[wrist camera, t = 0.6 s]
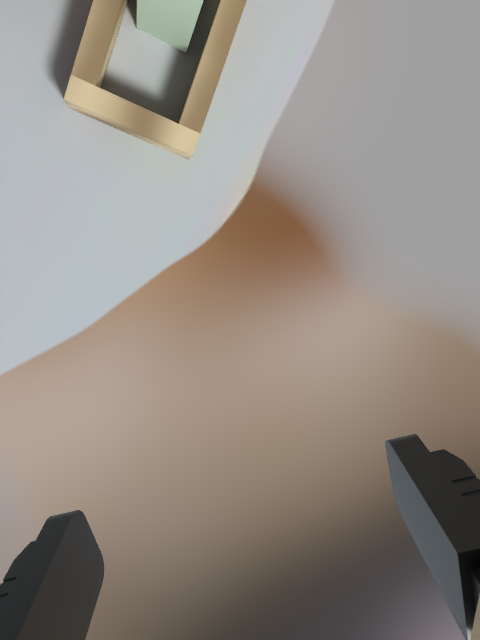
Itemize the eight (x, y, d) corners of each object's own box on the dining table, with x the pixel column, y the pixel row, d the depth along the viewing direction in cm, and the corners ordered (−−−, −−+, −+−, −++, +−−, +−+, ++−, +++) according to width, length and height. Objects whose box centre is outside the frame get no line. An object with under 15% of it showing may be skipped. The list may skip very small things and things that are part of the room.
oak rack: (69, 107, 30) (63, 98, 28) (133, -106, 28) (133, -135, 26) (188, 159, 32) (192, 155, 30) (255, -34, 31) (265, -54, 28)
